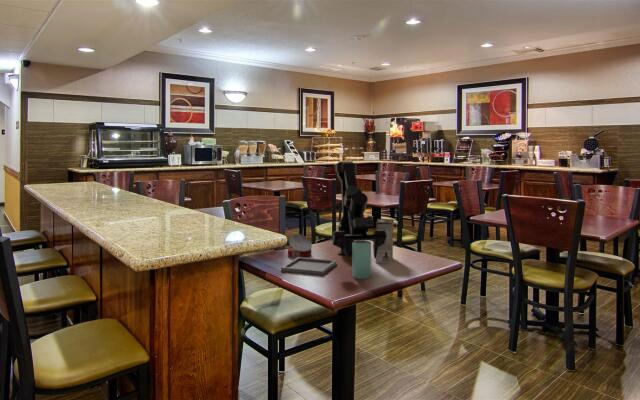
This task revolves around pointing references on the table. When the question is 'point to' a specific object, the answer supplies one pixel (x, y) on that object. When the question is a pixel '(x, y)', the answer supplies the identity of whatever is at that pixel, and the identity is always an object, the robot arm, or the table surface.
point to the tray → (309, 266)
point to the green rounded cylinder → (361, 259)
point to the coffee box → (387, 248)
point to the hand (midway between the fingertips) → (362, 258)
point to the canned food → (299, 246)
